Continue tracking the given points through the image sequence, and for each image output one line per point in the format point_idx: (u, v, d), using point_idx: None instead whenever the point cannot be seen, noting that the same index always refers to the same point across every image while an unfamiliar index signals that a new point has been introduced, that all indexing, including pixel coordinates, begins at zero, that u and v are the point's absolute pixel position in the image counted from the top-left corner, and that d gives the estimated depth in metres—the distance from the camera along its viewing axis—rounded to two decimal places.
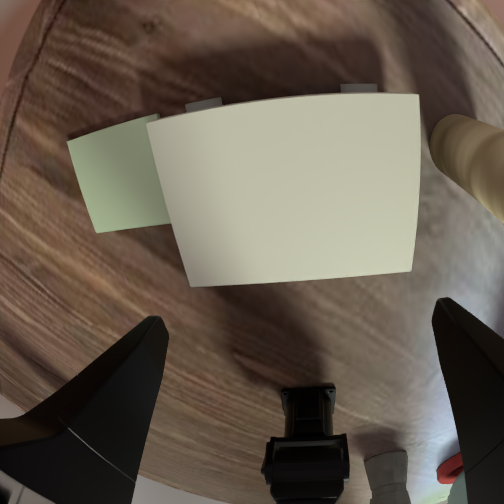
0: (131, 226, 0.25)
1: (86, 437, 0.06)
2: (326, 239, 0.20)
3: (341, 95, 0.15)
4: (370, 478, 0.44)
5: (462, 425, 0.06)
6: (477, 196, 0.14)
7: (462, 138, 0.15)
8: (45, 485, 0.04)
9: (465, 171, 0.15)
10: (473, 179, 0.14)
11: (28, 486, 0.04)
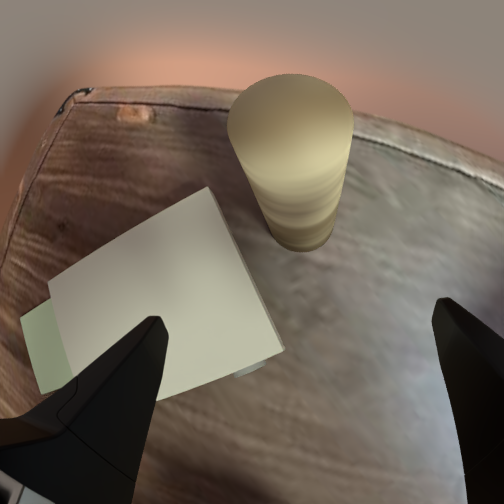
0: (62, 385, 0.24)
1: (86, 437, 0.06)
2: (176, 344, 0.19)
3: (151, 218, 0.22)
4: None
5: (462, 425, 0.06)
6: (276, 221, 0.17)
7: None
8: (45, 485, 0.04)
9: (263, 212, 0.19)
10: (261, 209, 0.18)
11: (28, 486, 0.04)
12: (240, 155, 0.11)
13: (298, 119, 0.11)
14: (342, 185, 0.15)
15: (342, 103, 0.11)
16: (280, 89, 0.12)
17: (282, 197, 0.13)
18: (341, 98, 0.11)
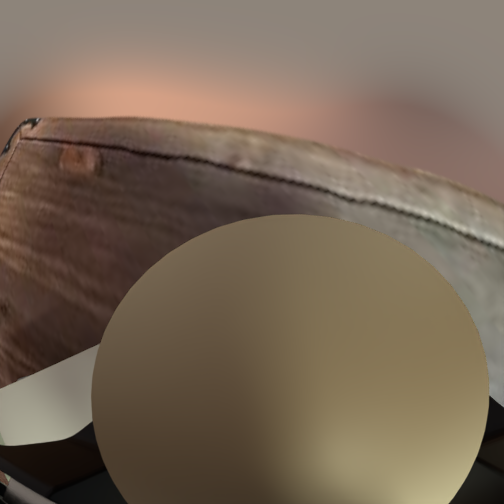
0: None
1: None
2: None
3: (82, 353, 0.13)
4: None
5: None
6: None
7: None
8: None
9: None
10: None
11: None
12: None
13: (312, 450, 0.03)
14: None
15: (470, 370, 0.03)
16: (253, 299, 0.03)
17: None
18: (471, 346, 0.03)
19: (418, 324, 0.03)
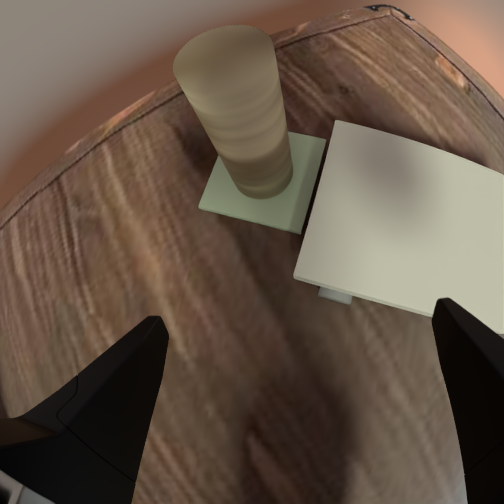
0: (243, 216, 0.25)
1: (86, 437, 0.06)
2: (447, 269, 0.18)
3: (473, 162, 0.19)
4: None
5: (462, 425, 0.06)
6: (228, 155, 0.19)
7: None
8: (45, 485, 0.04)
9: (218, 154, 0.20)
10: (215, 147, 0.19)
11: (28, 486, 0.04)
12: (181, 83, 0.13)
13: (228, 53, 0.13)
14: (282, 116, 0.17)
15: (265, 38, 0.13)
16: (216, 36, 0.13)
17: (221, 119, 0.15)
18: (264, 35, 0.13)
19: (250, 34, 0.13)
